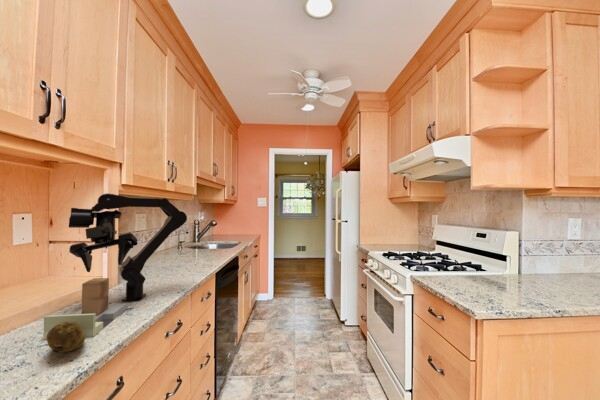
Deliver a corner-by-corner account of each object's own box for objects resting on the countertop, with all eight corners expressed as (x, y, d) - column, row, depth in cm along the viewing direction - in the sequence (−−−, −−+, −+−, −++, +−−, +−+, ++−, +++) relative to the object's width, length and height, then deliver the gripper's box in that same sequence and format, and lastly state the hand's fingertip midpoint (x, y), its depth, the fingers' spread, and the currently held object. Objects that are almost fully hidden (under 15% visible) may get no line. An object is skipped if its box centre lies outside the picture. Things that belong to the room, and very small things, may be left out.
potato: (98, 336, 76) (98, 307, 76) (74, 362, 63) (75, 327, 63) (61, 340, 73) (62, 310, 73) (29, 368, 61) (30, 332, 61)
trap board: (88, 310, 93) (88, 292, 93) (126, 309, 95) (127, 291, 95) (43, 339, 74) (43, 317, 74) (93, 336, 75) (93, 314, 75)
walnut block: (93, 309, 89) (93, 278, 90) (108, 308, 90) (108, 278, 90) (81, 316, 84) (82, 283, 84) (97, 316, 84) (98, 283, 84)
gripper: (61, 222, 90) (55, 268, 82) (124, 210, 94) (124, 252, 87) (80, 236, 99) (77, 278, 92) (137, 224, 104) (138, 263, 96)
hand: (104, 268), depth 91 cm, fingers open, 9 cm apart
